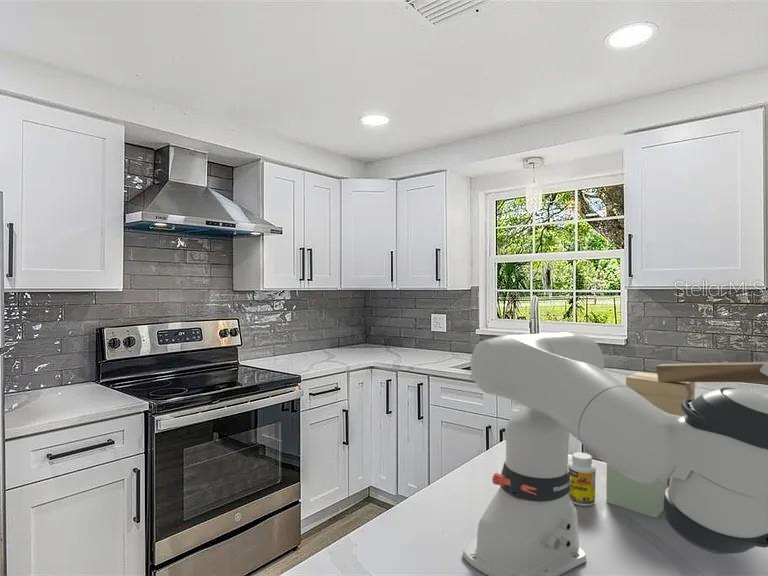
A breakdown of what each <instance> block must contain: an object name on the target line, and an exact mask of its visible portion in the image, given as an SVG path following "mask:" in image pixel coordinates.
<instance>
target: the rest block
mask: <svg viewBox="0 0 768 576" xmlns="http://www.w3.org/2000/svg"><path fill="white" fill-rule="evenodd" d="M667 480H668V479H667ZM667 480H665V481H663V482H660V483H655V484H644V483H640V482H637V481H635V480H633V479H631V478H629V477H627V476H626V475H624V474H622V473H621V472H619V471H617V470H616V469H614V468H613V467H611V466H610V465H608V464H607V463H606V496H605V497H606V500H605V503H608V504H610V505H614V506H617V507H619V508H620V507H621V508H623V509H626V510H629V511H632V512H636V513H639V514H641V515H644V516H647V517H651V518H655V519H657V518H658V517H659V516H660V515H661V514H662V513H664V495H665V490H666V488H667Z"/></svg>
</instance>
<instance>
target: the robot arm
mask: <svg viewBox="0 0 768 576" xmlns="http://www.w3.org/2000/svg"><path fill="white" fill-rule="evenodd" d="M766 362H768V360H767V361H766ZM604 367H605V361H604V355H603V352H602V349H601V348H600V345H598V343H597V342H596V340H595V339H593V338H592V337H590V336H587V335H583V334H579V333H573V332H567V331H564V332H563V331H562V332H559V331H558V332H542V333H541V332H540V333H539V332H538V333H523V334H522V333H521V334H504V335H499V336H496V337H492V338H488V339H485V340H482V341H480V342H478V343H477V345H475V348H474V349H473V351H472V354H471V358H470V372H471V375H472V378H473V381H474V382H475V384H476V385H477V387H478V388H479V389H480V390H481V391H482V392H483V393H485V394H488V395H494V396H497V397H501V398H504V399H507V400H510V401H514V402H516V403H518V404H521V405H523V406H522V407H521V408H520V409H518V410H517V411H516V412H515V413H513V415H511V416H510V418H509V419H508V422H507V424H506V427H505V461H503V466H502V469H501V473H499V472H495V473H493V476H492V479H491V482H492V484H493V485H497V486H499V488H498V489H497V491H496V493H495V495H494V496H493V498H492V499H491V501H490V502H489V503H488V506H486V507H487V508H486V509H485V511H484V512H483V514H482V516H481V518H480V519H479V521H478V526H477V533H476V535H475V536H474V537H473V538H472V539H471V541H470V542H469V543H468V544H467V545H466V546H465V547H464V548H463V551H462V556H463V558H464V559H465V560H466V561H467V563H468V564H469V565H470V566H472V567H474V568H475V569H476V570H478V571H480V572H481V573H483V574H484V575H487V576H562V575H563V574H565V573H566V572H567V573H568V571H570V570H572V569H574V568H577V567H578V566H580V565H582V564H584V563H586V561H587V555H586V552H585V551H584V550H583V549H582V548H581V547H580V542H579V541H580V540H579V537H580V536H579V525H578V524H579V523H578V521H579V520H578V511H577V509H576V506H575V504H574V503H572V501H571V499H570V496H569V491H570V483H571V477H570V470H569V468H568V465H569V462H568V461H569V441H570V434H571V436H572V437H574V438H575V439H576V440H577V441H578V442H580V443H581V444H582V445H583V446H584V447H585V448H586V449H587V450H588V451H590V452H592V454H593V455H595V456H596V457H597V458H598V459H600V460H601V461H603V462H604V463H605V464H606V465H607V464H608V465H610V466H611V467H613V468H614V469H616V470H617V471H619V472H621V473H622V474H624V475H626V476H627V477H629V478H631V479H633V480H635V481H637V482H640V483H644V484H655V483H660V482H663V481H665V480H667V479H669V478H670V477H671V478H670V482H669V487H667V488H666V490H665V495H664V511H663V515H664V519H665V520H666V522H667V524H669V526H670V527H671V528H672V530H673V531H674V532H675V533H676V534H677V535H678V536H680V537H681V538H682V539H683V540H684V541H686V542H687V543H689V544H691V545H693V546H694V547H696V548H698V549H700V550H703V551H705V552H708V553H711V554H716V555H731V554H732V555H733V554H741V553H744V552H747V551H749V550H750V549H753V548H755V547H757V548H764V549H765V548H768V397H767V396H765V395H763V394H760V393H758V392H755V391H752V390H747V389H740V388H735V387H734V388H733V387H721V388H717V389H712V390H710V391H709V390H708V391H705V392H704V393H702V394H700V395H699V396H697V397H696V398H695V399H686V400H684V401H683V402H682V403H681V409H682V410H683V412H684V413H685V414H686V415H685V416H679V415H673V414H670V413H667V412H665V411H663V410H661V409H659V408H658V407H656V406H654V405H653V404H652V403H650V402H649V401H648V400H646V399H645V398H644V397H642V396H641V395H640V394H638V393H637V392H635V391H634V390H632V389H631V388H629V387H628V386H626V383H623V382H622V381H620V380H619V379H617V378H616V377H613V376H612V375H611V374H609V373H608V372H606V371H604ZM760 372H761V373H763V374H765V375H767V376H768V364H764V365H763V366H762V367H761V369H760Z"/></svg>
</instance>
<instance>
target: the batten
mask: <svg viewBox="0 0 768 576" xmlns="http://www.w3.org/2000/svg"><path fill="white" fill-rule="evenodd" d="M764 364H768V362H767V361H746V362H744V361H743V362H739V361H738V362H737V361H734V362H693V363H692V362H691V363H687V362H686V363H661V364H660V363H659V364H658V365H656V366H655V367H656V374H657V375H658V382H695V383H768V376H767V375H765V374H763V373H761V372H760V369H761V367H762V366H763V365H764Z"/></svg>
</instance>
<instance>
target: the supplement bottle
mask: <svg viewBox="0 0 768 576" xmlns="http://www.w3.org/2000/svg"><path fill="white" fill-rule="evenodd" d="M571 455H572V457H571V460H572V461H569V462H568V468H569V470H570V477H571V483H570V491H569V496H570V499H571V501H572V503H573V505H577V506H581V507H590V506H593V505H594V504H595V502H596V472H597V471H596V466H595V464H593V456H592V455H591V454H589V453H586V452H577V451H576V452H574V453H572V454H571Z"/></svg>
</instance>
